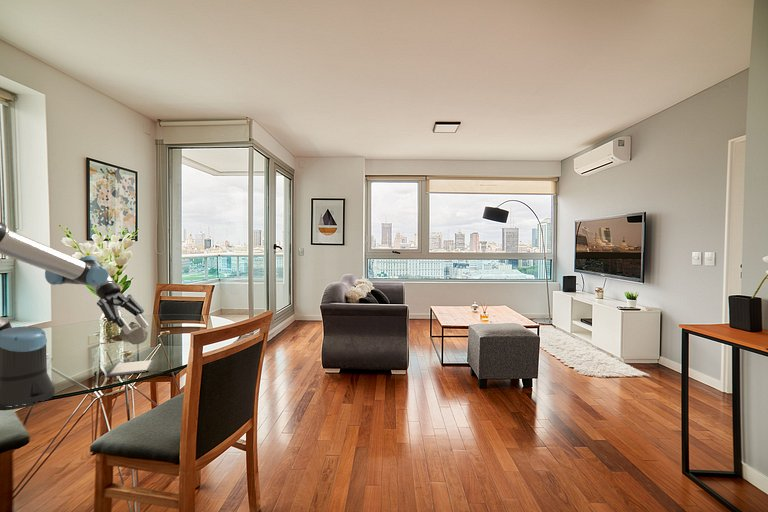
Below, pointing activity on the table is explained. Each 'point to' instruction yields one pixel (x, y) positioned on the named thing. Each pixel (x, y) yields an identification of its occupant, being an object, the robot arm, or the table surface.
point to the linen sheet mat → (130, 368)
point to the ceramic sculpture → (132, 335)
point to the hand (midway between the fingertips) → (137, 329)
